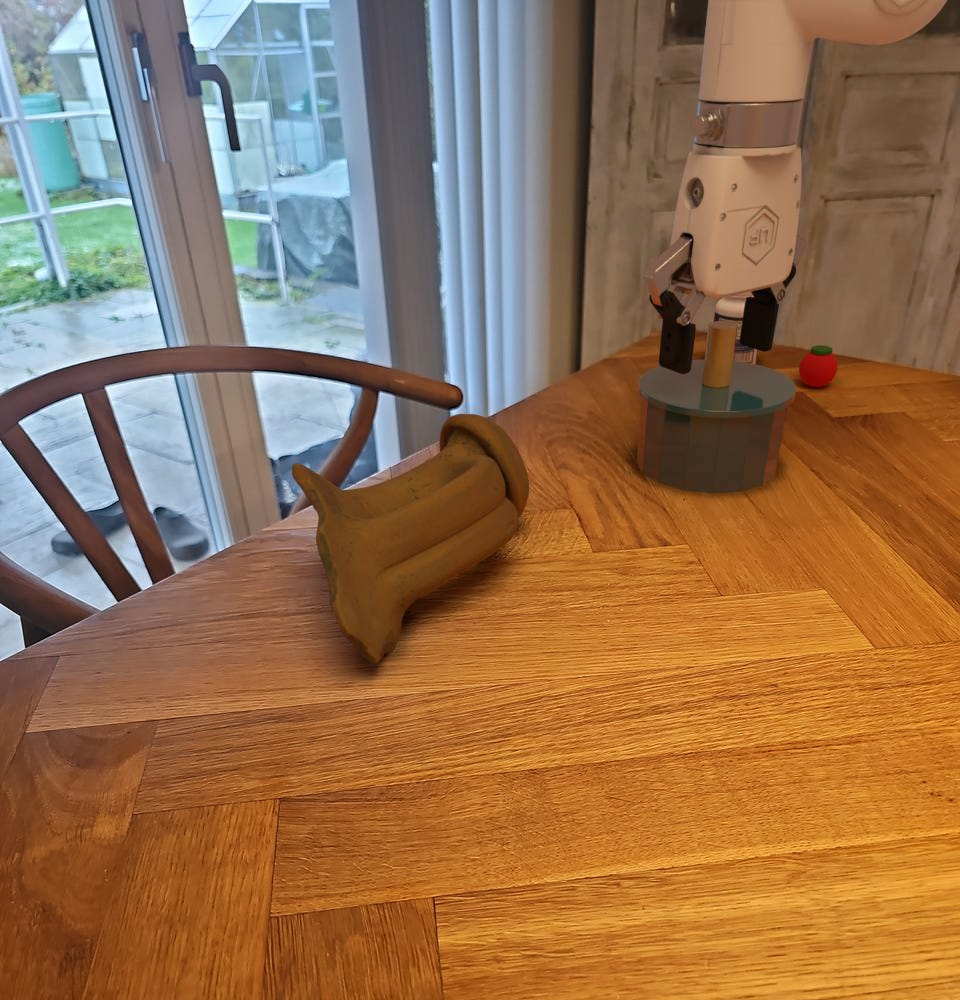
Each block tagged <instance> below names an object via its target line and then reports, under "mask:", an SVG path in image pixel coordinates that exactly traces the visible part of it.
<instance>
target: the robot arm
mask: <svg viewBox="0 0 960 1000" xmlns="http://www.w3.org/2000/svg"><path fill="white" fill-rule="evenodd" d="M947 2H948V0H708V1H707V10H706V20H705V22H706V23H705V31H704V39H703V50H702V57H701V58H702V59H701V70H700V78H699V89H698V101H697V108H696V116H694V117H693V118H692V119H691V123H690V132H691V134H692V136H693V144H692V151H689V153H688V156H687V160H686V163H685V167H684V170H683V174H682V179H681V183H680V186H679V187H680V188H679V192H678V197H677V202H676V207H675V213H674V219H673V224H672V233H671V239H670V240H671V241H670V246H669V247H667V249H665V250H664V251H663V252H662V253H660V255H659V256H657V257H656V258H655V259H654V260H652V262H651V263H650V264H648V265H647V266H646V267H645V268H644V271H643V278H644V281H645V284H646V288H647V292H648V294H649V297H648V298H649V299H648V300H649V302H650V304H651V305H652V307H654V309H655V310H656V317H657V318H658V319H661V320H662V324H661V333H660V334H661V335H660V345H659V355H658V366H661V367H664V368H666V369H669V370H672V371H675V372H677V373H680V374H686V373H689V372H690V370H691V365H692V360H693V356H694V347H695V340H696V339H695V338H696V332H697V331H696V330H697V326H696V325H697V324H696V323H692V322H691V321H692V319H693V318H694V316H695V314H696V313H697V311H699V310H698V309H699V308H700V306H701V305H702V303H703V301H704V300H705V299H706V297H707V298H709V299H710V298H711V299H714V300H715V299H717V300H719V299H722V298H725V297H729V296H734V295H738V294H743V293H747V292H751V293H752V295H753V296H754V297H746V302H745V307H744V313H743V320H742V327H741V334H740V343H741V344H742V345H744V346H747V347H750V348H754V349H757V350H758V351H761V352H764V353H766V352H769V351H771V350H772V348H773V343H774V338H775V332H776V326H777V320H778V315H779V314H778V313H779V310H780V309H779V308H780V303H782V302H783V301H784V300H785V299H786V296H787V288H788V286H790V283H791V282H792V281H793V279H794V278H795V276H796V275H797V267H798V265H799V264H800V261H801V259H802V257H803V255H804V253H805V250H806V248H807V240H805V239H804V238H803V237H801V236H800V235H799V234H798V229H799V219H800V210H801V198H802V176H803V172H802V170H803V169H802V167H803V164H802V163H803V161H802V148H801V147H799V146H798V145H797V144H798V143H797V142H798V139H799V138H798V137H799V132H800V126H801V125H800V124H801V119H802V113H803V107H804V98H805V94H806V88H807V84H808V83H807V82H808V77H809V70H810V65H811V58H812V52H813V46H814V42H815V39H825V40H828V41H832V42H838V43H851V44H856V45H863V46H864V45H865V46H881V45H887V44H892V43H896V42H899V41H901V40H904V39H906V38H909V37H910V36H913V35H914V34H916V33H917V32H919V31H920V30H922V29H923V28H924V27H925V26H927V25H928V24H929V23H930V22H931V21H933V19H934V18H935V17H936V16H937V15H938V14H939V13H940V12H941V10H942V9H943V8H944V6H945V4H947ZM684 295H688V296H687V297H686V299H685V301H684V302H683V303H681V300H682V298H683V296H684Z"/></svg>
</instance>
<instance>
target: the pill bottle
mask: <svg viewBox="0 0 960 1000" xmlns="http://www.w3.org/2000/svg"><path fill="white" fill-rule="evenodd" d="M746 297H754V296H753V295H752V293H751V292H747V293H743V294H738V295H734V296H729V297H724V298H720V299H718V301H717V303H715V309H714V316H713V322H716V321H728V322H733V323H736V324H737V325H738V328H737V336H736V343H735V351H734V358H733V361H739V362H746V363H751V364H756V365H757V359H758V358H757V357H758V352H759V350H757V349H754V348H750V347H747V346H744V345H742V344H741V343H740V334H741V327H742V320H743V313H744V307H745V302H746Z"/></svg>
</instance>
